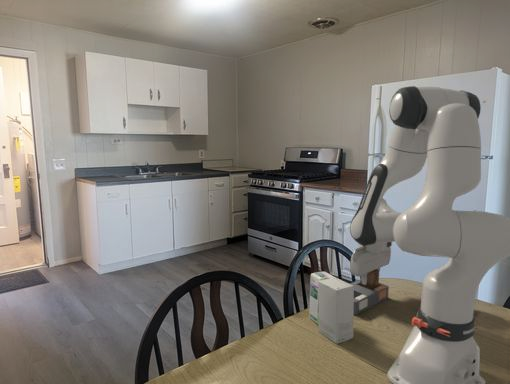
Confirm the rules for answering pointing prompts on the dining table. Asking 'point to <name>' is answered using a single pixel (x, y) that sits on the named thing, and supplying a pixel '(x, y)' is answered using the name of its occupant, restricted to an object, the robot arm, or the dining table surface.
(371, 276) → the walnut plug
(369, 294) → the socket block
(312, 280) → the syrup box
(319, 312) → the skincare box
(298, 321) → the dining table surface
